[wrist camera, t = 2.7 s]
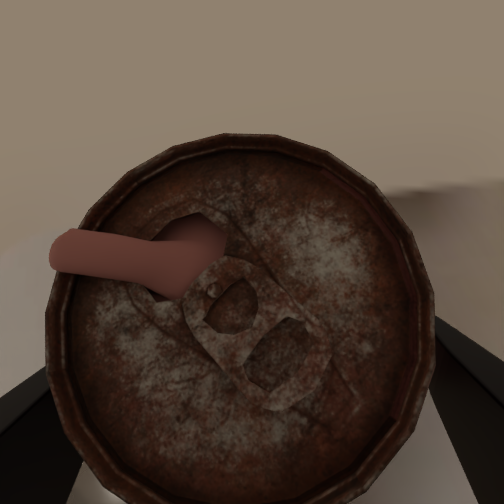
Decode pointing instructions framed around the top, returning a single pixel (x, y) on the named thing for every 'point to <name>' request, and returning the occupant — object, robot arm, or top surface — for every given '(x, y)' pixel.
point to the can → (239, 328)
